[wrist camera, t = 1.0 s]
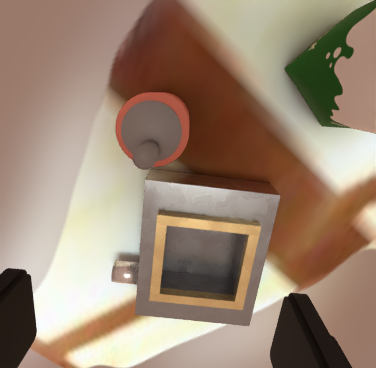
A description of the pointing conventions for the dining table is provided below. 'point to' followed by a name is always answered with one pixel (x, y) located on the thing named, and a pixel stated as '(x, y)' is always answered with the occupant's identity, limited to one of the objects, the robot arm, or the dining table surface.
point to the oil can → (153, 128)
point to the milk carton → (341, 72)
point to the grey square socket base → (201, 247)
